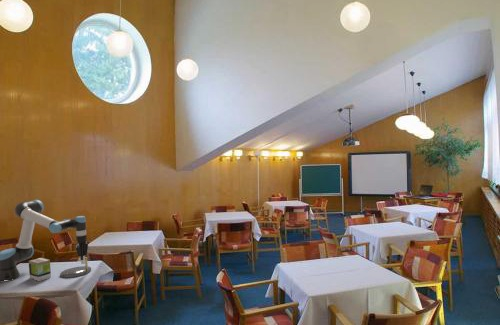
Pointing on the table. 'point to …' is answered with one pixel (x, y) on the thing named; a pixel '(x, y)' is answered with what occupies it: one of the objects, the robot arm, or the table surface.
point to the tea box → (39, 269)
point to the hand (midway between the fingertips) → (83, 263)
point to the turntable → (76, 271)
